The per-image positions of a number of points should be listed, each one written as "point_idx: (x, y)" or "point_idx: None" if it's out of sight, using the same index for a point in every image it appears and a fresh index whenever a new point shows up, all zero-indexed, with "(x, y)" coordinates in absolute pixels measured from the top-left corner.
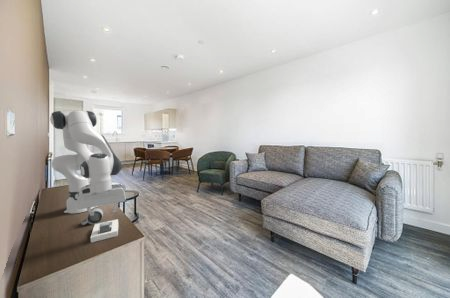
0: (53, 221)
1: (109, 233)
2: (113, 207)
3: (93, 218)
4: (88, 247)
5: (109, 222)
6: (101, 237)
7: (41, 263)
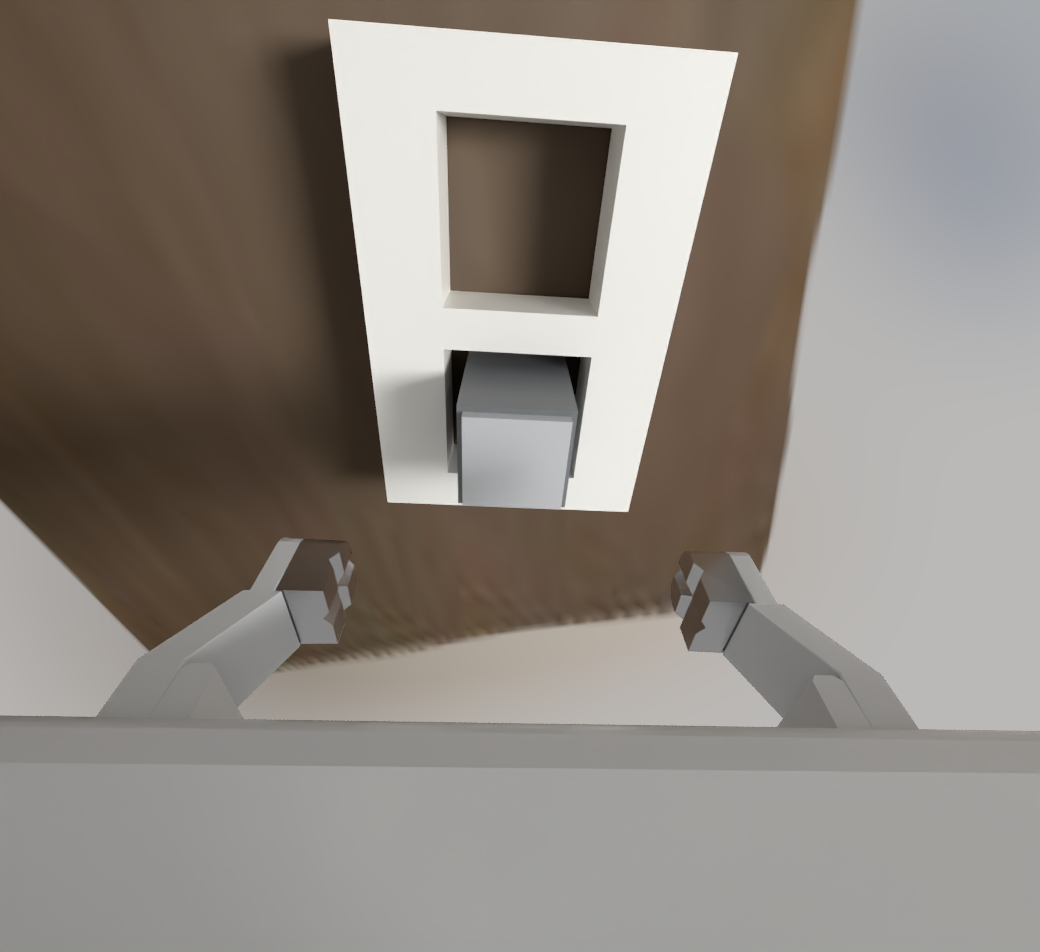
0: None
1: None
2: (722, 602)
3: None
4: (397, 532)
5: (576, 417)
6: None
7: (138, 564)
